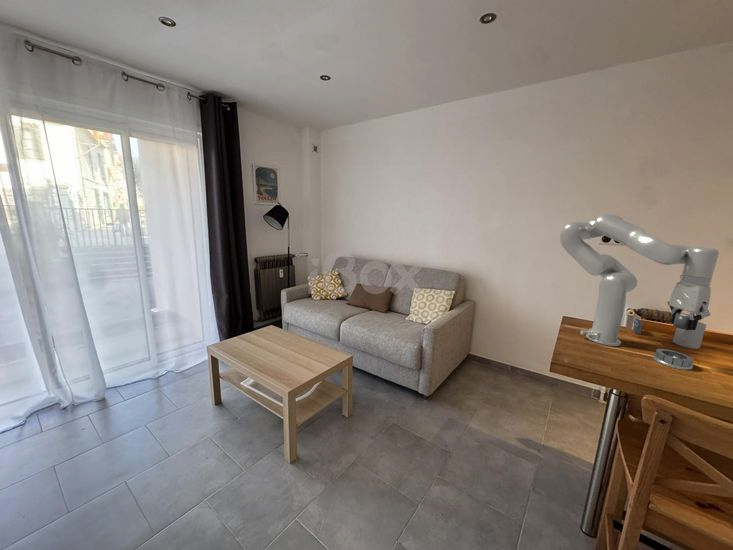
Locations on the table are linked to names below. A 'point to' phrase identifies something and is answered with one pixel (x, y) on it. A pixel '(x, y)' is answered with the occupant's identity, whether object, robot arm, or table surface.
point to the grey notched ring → (673, 359)
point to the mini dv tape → (636, 326)
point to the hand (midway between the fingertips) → (682, 326)
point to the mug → (690, 336)
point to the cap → (681, 320)
